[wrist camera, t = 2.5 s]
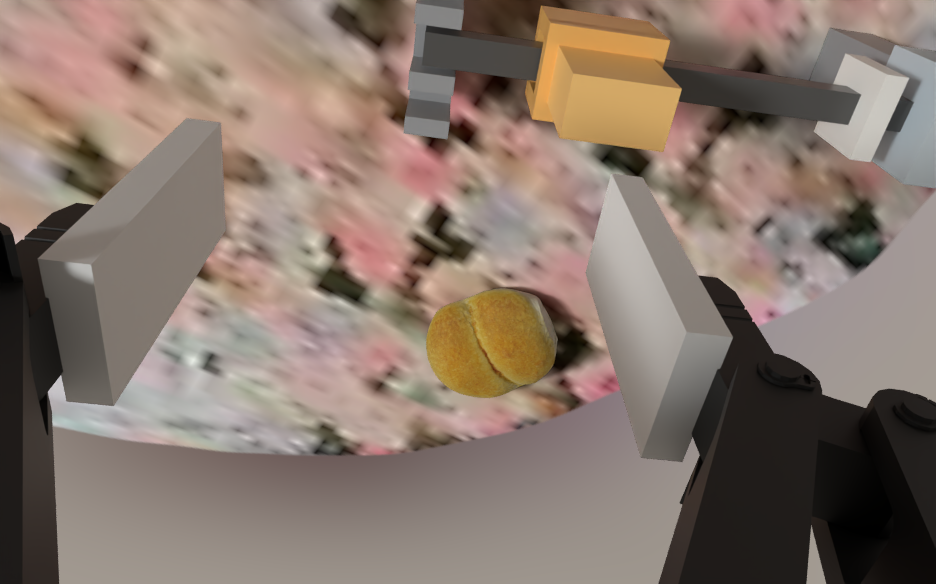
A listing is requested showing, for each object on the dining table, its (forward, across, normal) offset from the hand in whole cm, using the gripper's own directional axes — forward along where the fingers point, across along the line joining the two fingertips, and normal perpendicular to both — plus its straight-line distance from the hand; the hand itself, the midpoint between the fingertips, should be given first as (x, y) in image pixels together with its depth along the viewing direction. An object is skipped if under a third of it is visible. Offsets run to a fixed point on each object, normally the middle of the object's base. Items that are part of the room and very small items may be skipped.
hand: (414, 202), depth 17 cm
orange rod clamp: (+18, +7, 0) cm, 20 cm away
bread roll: (+26, +6, -21) cm, 34 cm away
